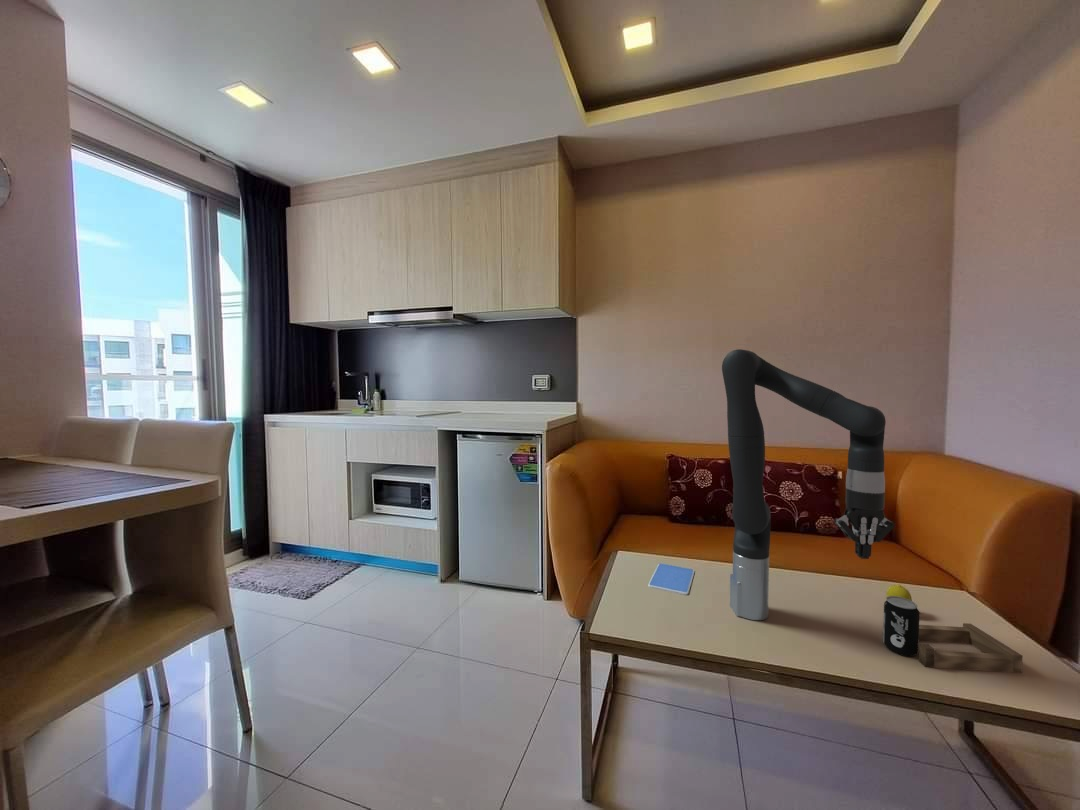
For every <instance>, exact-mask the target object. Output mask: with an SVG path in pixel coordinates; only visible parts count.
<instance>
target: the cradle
mask: <svg viewBox="0 0 1080 810" xmlns="http://www.w3.org/2000/svg"><path fill="white" fill-rule="evenodd" d="M919 641H930V642H931V641H932V642H950V643H968V644H969V645H972V646H973V647H974V648H976V649H978V650H979V651H980V652H974V651H973V652H971V651H955V650H939V649H938V650H937V649H935V648H934V647H933V646H932V645H931V644H929V643H919V648H918V653H919V654H918V655H919V656H918V662H919V663H920V664H921V665H922V666H923V667H925V668H936V669H937V668H939V669H954V670H956V669H957V670H971V671H972V670H973V671H983V672H984V671H986V672H1003V673H1016V674H1017V673H1019V674H1022V673H1023V655H1022V654H1020V653H1019V652H1018V651H1016V650H1014V649H1012V648H1011V647H1009V646H1008V645H1006V644H1004V643H1003V642H1001V641H999V640H998V639H997V638H995V637H993V636H992V635H990V634H988V633H987V632H986V631H983V630H982V629H980V628H979V627H977V626H976V625H974V624H972V623H966V622H963V623H962V626H950V625H932V624H931V625H930V624H919Z"/></svg>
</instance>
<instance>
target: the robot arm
mask: <svg viewBox="0 0 1080 810" xmlns="http://www.w3.org/2000/svg"><path fill="white" fill-rule="evenodd" d="M721 372H722V377H723V378H722V379H723V383H724V384H723V385H724V388H725V395H726V407H727V408H726V418H727V419H726V420H727V421H726V422H727V441H728V452H729V462H730V469H731V475H732V481H733V482H732V483H733V484H732V485H733V490H732V492H733V493H732V494H733V497H732V514H731V516H732V520H733V523H734V535H733V539H732V540H733V542H732V545H733V546H732V573H730V574H729V606H730V608H731V609H732V611H733V612H734V614H735V615H736V616H737V617H740V618H741V617H742V618H745V619H748V620H752V621H762V620H766V619H768V617H769V582H770V579H769V578H770V549H771V548H770V547H771V523H772V522H771V519H772V518H771V517H772V516H771V515H772V514H771V508H770V506H769V504H768V503H767V502H766V501H765V496H764V488H763V487H764V485H763V484H764V483H763V482H764V481H763V479H764V472H765V471H764V470H765V461H766V459H765V458H766V443H765V440H766V439H765V431H764V430H765V429H764V423H763V420H762V418H761V417H762V416H761V414H760V411H759V408H758V405H757V401H756V400H757V399H756V386H759V387H762V388H764V389H767V390H769V391H770V392H771V391H772V392H774V393H775V394H777V395H779V396H781V397H782V398H784V399H786V400H788V401H789V402H791V403H793V404H795V405H796V406H798V407H800V408H802V409H804V410H806V411H809V412H811V413H812V414H815V415H817V416H819V417H822V418H825V419H827V420H829V421H831V422H833V423H835V424H836V425H838V426H840V427H842V428H844V429H845V430H848V431H849V448H848V451H847V452H848V453H847V469H846V470H847V472H846V475H845V501H844V502H845V510H844V512H843V515H842V516H841V517H839V518H838V517H835V518H834V519H833V521H834V523H835V524H836V526H838V528H839V529H840V530H841V532H842V533H843V534H844V536H845V537H846V538H847V539H850V540H851V541H853V542H854V553H855V555H857V557H858V558H860V559H861V560H869V559H870V558H871V556H872V545H873V543H875V542H876V543H881V541H882V540H883V539H884V538H885V537H886V536H887V535H888V534H889V533H890V532H891V531H892V530H893V528H895V523H894V522H893V521H891V520H889V519H888V518H887V517H886V515H885V512H884V509H885V500H886V498H885V495H886V492H885V491H886V478H885V450H884V443H885V442H884V441H885V429H886V415H885V414H884V413H883V412H882V411H881V410H880V409H878V408H877V407H874V406H869V405H866V404H863V403H861V402H858V401H855V400H853V399H851V398H847V397H845V396H844V395H843V394H841V393H839V392H838V391H835V390H832V389H830V388H829V387H825V386H823V385H821V384H818V383H816V382H813V381H810V380H807V378H806V379H805V378H803V377H800V376H798V375H795V374H793V373H790V372H787V371H785V370H783V369H781V368H779V367H777V366H775V365H773V364H772V363H770V362H769V361H766V360H765V359H763V358H762V357H760V356H759V355H757V354H756V353H755V352H754V351H751V350H747V349H734V350H731V351H729V352H728V353H727V354H726V355H725V357H723V360H722V363H721ZM849 525H851V527H850V526H849Z"/></svg>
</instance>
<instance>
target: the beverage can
mask: <svg viewBox="0 0 1080 810" xmlns="http://www.w3.org/2000/svg"><path fill="white" fill-rule="evenodd" d="M885 598H886V597H885ZM920 614H921V613H920V611H919V609H918V605H917V603H916V602H914V601H913V600H912V601H911V600H908V599H905V598H902V597H897V596H888V597H887V598H886V599H885V601H884V602H883V620H882V621H883V622H882V623H883V625H882V626H883V627H882V642H883V644H884V646H885V647H886V648H887V649H888V650H889V651H891V652H893V653H895V654H897V655H899V656H904V657H914V656H915V655H918V653H919V644H920V643H919V642H920V640H919V625H920Z"/></svg>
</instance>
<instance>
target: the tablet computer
mask: <svg viewBox="0 0 1080 810" xmlns="http://www.w3.org/2000/svg"><path fill="white" fill-rule="evenodd" d="M694 575H695V569H693V568H687V567H682V566H676V565H672V564H671V565H670V564H667V563H658V564H657V566H656V567H655V570H654V571H653V573H652V576H651V578H650V580H649V582H648V585H647V586H648V588H650V589H654V590H659V591H663V592H668V593H673V594H678V595H683V596H687V595H689V593H690V591H691V590H690V588H691V586H692V583H693V579H694Z"/></svg>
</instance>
